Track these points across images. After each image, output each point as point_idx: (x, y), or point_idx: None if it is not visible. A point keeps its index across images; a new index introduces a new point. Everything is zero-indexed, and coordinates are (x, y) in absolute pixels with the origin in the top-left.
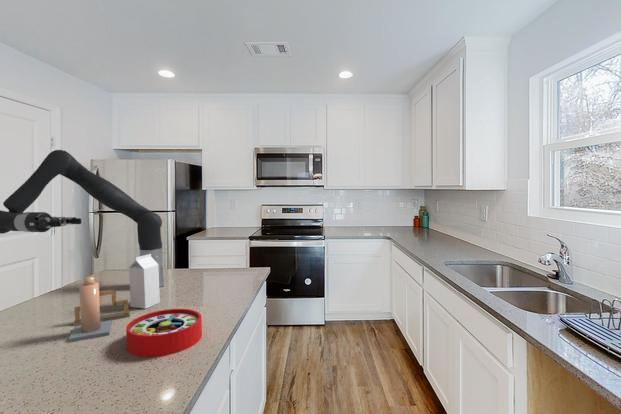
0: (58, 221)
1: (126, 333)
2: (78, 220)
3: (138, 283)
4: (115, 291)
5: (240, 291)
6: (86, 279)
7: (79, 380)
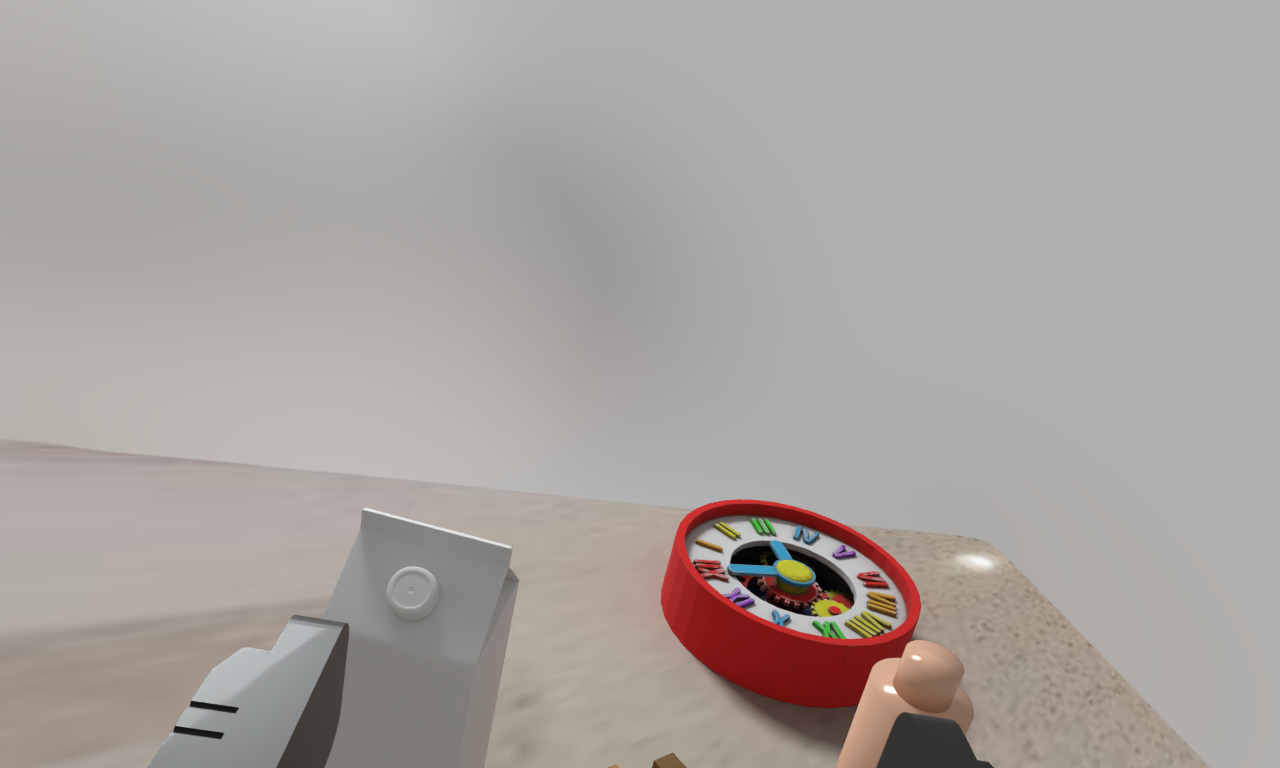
0: (953, 739)
1: (899, 646)
2: (333, 684)
3: (487, 702)
4: (671, 758)
5: (228, 495)
6: (957, 659)
7: (1070, 726)
